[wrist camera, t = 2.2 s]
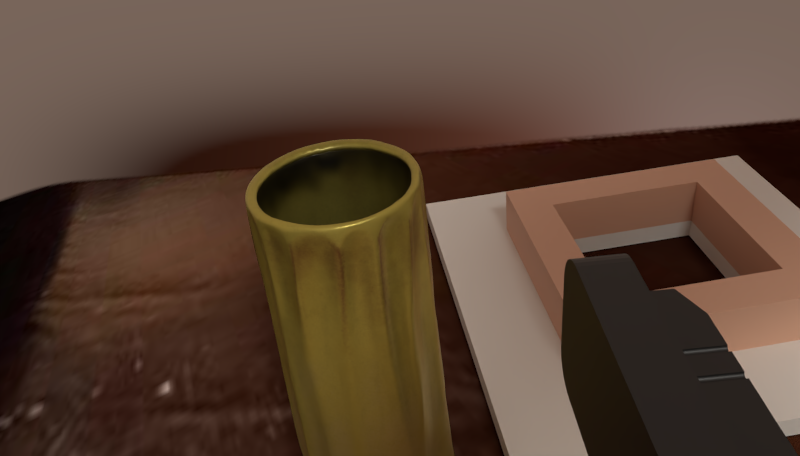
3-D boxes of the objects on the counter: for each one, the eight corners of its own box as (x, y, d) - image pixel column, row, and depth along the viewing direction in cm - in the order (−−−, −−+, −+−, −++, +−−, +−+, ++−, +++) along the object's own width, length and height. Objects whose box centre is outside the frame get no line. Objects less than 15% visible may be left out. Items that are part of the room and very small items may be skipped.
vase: (433, 411, 32) (403, 117, 24) (485, 529, 27) (469, 206, 19) (297, 452, 31) (219, 156, 23) (326, 582, 26) (240, 262, 18)
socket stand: (734, 169, 46) (743, 119, 44) (989, 398, 30) (1022, 335, 28) (427, 217, 45) (422, 168, 43) (514, 486, 28) (513, 425, 27)
